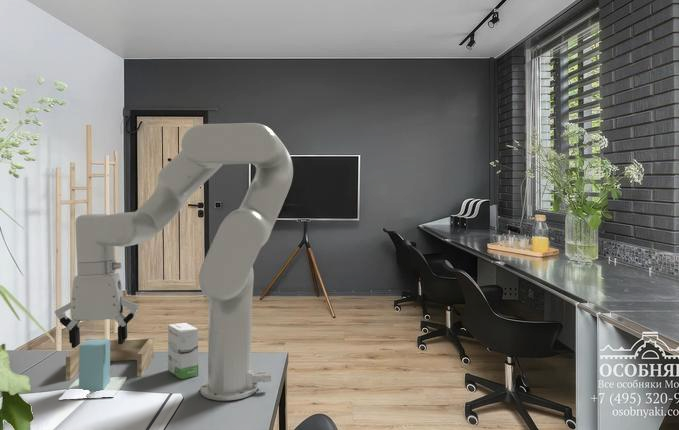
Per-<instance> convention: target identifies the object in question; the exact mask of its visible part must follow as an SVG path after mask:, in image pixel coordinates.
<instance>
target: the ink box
mask: <svg viewBox="0 0 679 430" xmlns="http://www.w3.org/2000/svg"><path fill="white" fill-rule="evenodd" d="M167 326H168V327H167V342H168V343H167V347H168V348H167V354H168V355H167V363H168V364H167V367H168V368H167V370H168V371H169V372H170V373H172V374H173V375H174V376H175V377H176V378H178V379H179V380H184V379H188V378H193V377H197V376H199V328H197V327H195V326H193V325H191V324H189V323H187V322H181V323H170V324H168V325H167Z"/></svg>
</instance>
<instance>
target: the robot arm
mask: <svg viewBox="0 0 679 430" xmlns="http://www.w3.org/2000/svg"><path fill="white" fill-rule="evenodd" d="M240 164H241V165H245V164H246V165H248V164H249V165H253V166H254V167H255V175H254V177H253V179H252V181H251V183H250V184H249V185H248V186H249V187H248V188H247V191H246V194H245V196H244V198H243V200H242V202H241V204H240V205H239V207H238V209H235V210H232V211H231V212H230V213H229V214H227V215H226V217H225V218H223V220H222V222H221V224H220V225H219V227H218V230H217V231H216V234H215V236H214V238H213V241H212V242H211V245H210V247H209V249H208V251H207V253H206V255H205V258H204V260H203V262H202V264H201V266H200V269H199V272H198V285H199V288H200V290H201V293H202V294H203V295H204V296H205V297H206V298H208V299H209V302H208V303H209V304H208V328H207V329H208V339H207V341H208V342H207V343H208V346H207V347H208V348H207V353H208V354H207V362H208V363H207V364H208V365H207V380H206V381H205V382H203V383H202V384H201V386H200V394H201V396H203V398H206V399H209V400H211V401H219V402H221V401H222V402H225V401H226V402H228V401H236V400H241V399H246V398H248V397H250V396H252V395H254V394H255V393H256V392H257V390H258V387H259V386H258V383H272V373H271V372H269V373H268V372H267V373H266V370H260V371H256V370H255V369H253V365H252V322H253V321H252V320H253V319H252V317H253V292H254V282H255V279H254V278H255V276H254V267H253V266H254V264H255V261H256V260H257V258H258V255H259V253H260V250H261V248H262V247H264V246H265V244H267V242H268V241H269V238H270V236H271V233H272V231H273V229H274V226H275V223H276V221H277V219H278V217H279V214H280V212H281V210H282V208H283V205H284V203H285V200H286V198H287V195H288V193H289V190H290V188H291V186H292V182H293V177H294V165H293V160H292V157H291V155H290V152H289V150H288V149H287V148H286V146H285V144H284V143H283V142H282V141H281V139H280V138H279V137H278V134H277V135H276V133H275V132H274V131H273V130H272V129H271V128H270V127H269V126H266V125H265V124H262V123H256V122H241V123H239V122H237V123H235V122H234V123H232V122H231V123H203V124H197V125H194V126H192V127H190V128H188V129H187V131H186V132H185V133H184V134H183V136H182V139H181V151H179V152H178V153H177V154H176V155H175V156H174V158H172V159H171V160H170V161H169V162H168V163H167V164H166V165H165V166H164V167H162V169H160V171H158V174H157V184H156V188H155V189H154V191H153V192H152V194H151V195H150V197H149V198H148V199H147V200H146V201H145V202H144V203H143V204H142V205H141V206H139V208H138V209H136V210H135V211H129V212H118V213H112V214H106V213H105V214H104V213H95V214H94V213H93V214H92V213H91V214H90V213H88V214H81V215H78V216H77V217H76V219H75V221H74V222H75V223H74V225H75V249H76V250H75V251H76V269H77V270H76V274H77V275H75V276H74V278H73V282H72V289H71V299H70V301H71V302H68V303H67V304H65V305H64V306H62V307H60V308H58V309H56V310H54V314H55V315H56V318H57V319H58V320H59V323H60V324H61V325H63V326H64V328H66V330H67V331H68V339H69V341H68V342H69V344H71V349H74V348H75V349H76V348H77V347H78V346H80V345H81V335H80V334H81V333H80V332H81V328H80V327H79V326H78V325H79V324H80V322H89V321H102V320H114V321H115V322H116V323H117V324H118V326H117V339H118V344H123V343H124V342H125V339H128V324H129V322H130V321H132V319H134V317H135V316H136V314H137V312H138V310H139V307H140V305H139V304H138V303H135V302H133V301H130V300H129V299H126V298H124V293H123V285H122V280H121V276H120V273H119V272H116V271H117V270H118V269H122V262H116V259H115V247H126V248H127V247H130V246H135V245H139V244H145V243H147V242H149V241H151V240H152V239H153V238H154V237H155V236H156V235H158V234H159V233H160V232H161V231H162V230H164V228H165V227H166V226H167V225H168V224H170V222H172V220H173V219H174V218H175V217H176V216H177V214H178V213H179V212H180V211H181V209H182V208H183V207H184V206H185V204H186V203H187V201H188V200H189V199H190V197H191V196H192V195H194V193H196V191H197V190H199V188H201V186H203V185H204V184H205V183H206V182H207V181H208V180H209V179H210V178H212V176H213V175H214V174H215V173H216V172H218V170H219V169H220V168H221V167H223V165H240ZM125 308H128V309H129V313H128V314H127V316H126V315H124V314H123V313H124V312H125ZM69 310H70V315H71V318H70V317H68V316H67V315H66V312H67V311H69Z"/></svg>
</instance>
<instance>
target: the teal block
mask: <svg viewBox="0 0 679 430" xmlns="http://www.w3.org/2000/svg"><path fill="white" fill-rule="evenodd" d="M110 339H111V338H110ZM110 339H109V338H107V339H86V340H85V341H83V342H84V343H83V342H82V343H83V344H82V343H80V344H79V345H78V346H79V372H78V379H79V389H83V390H89V391H99V390H104V389H105V388H106V386H107V385H108V384H109V382H110V377H111V361H110Z"/></svg>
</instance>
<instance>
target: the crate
mask: <svg viewBox="0 0 679 430" xmlns="http://www.w3.org/2000/svg"><path fill="white" fill-rule="evenodd" d="M84 342H85V341H83V342H82V343H81V344H83V343H84ZM79 346H80V345H78V346H77V347H75V349H74V350H73V351H71V352H70V353H68V355H66V356H65V380H66V381H68V380H69V381H70V380H71V379H73V378H74V377H75V376H76V375H77V374H79ZM153 359H154V337H141V338H140V337H138V338H127V339H125V342H124V343H123V344H118V338H112V339H111V338H110V362H113V361H133V360H134V361H136V363H137V364H136V366H137V367H136V369H137V370H136V376H137V377H142V376H143V375H144V373H145V371H146V370H147V369H148V367H149V365H150V364H151V362H152V360H153Z"/></svg>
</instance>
